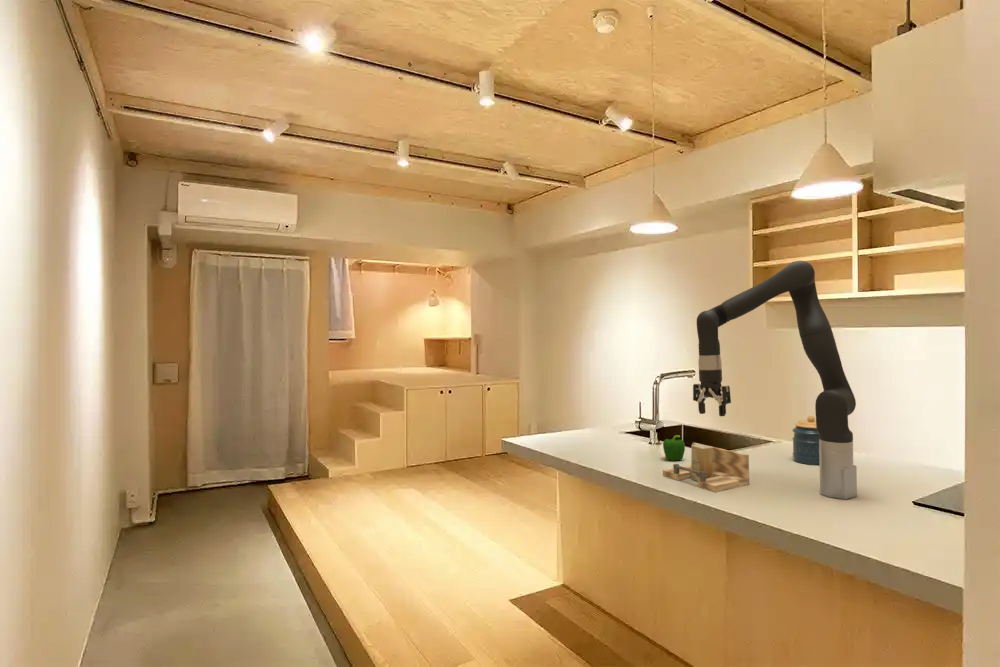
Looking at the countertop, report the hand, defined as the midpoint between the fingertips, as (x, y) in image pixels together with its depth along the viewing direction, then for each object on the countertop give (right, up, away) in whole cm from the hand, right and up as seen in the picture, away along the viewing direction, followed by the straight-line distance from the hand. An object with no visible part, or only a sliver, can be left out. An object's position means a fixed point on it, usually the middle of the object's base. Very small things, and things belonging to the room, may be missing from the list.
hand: (712, 414), depth 201 cm
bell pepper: (-4, -23, +31) cm, 39 cm away
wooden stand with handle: (-2, -23, +2) cm, 23 cm away
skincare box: (-3, -23, +1) cm, 23 cm away
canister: (+47, -21, +23) cm, 56 cm away
